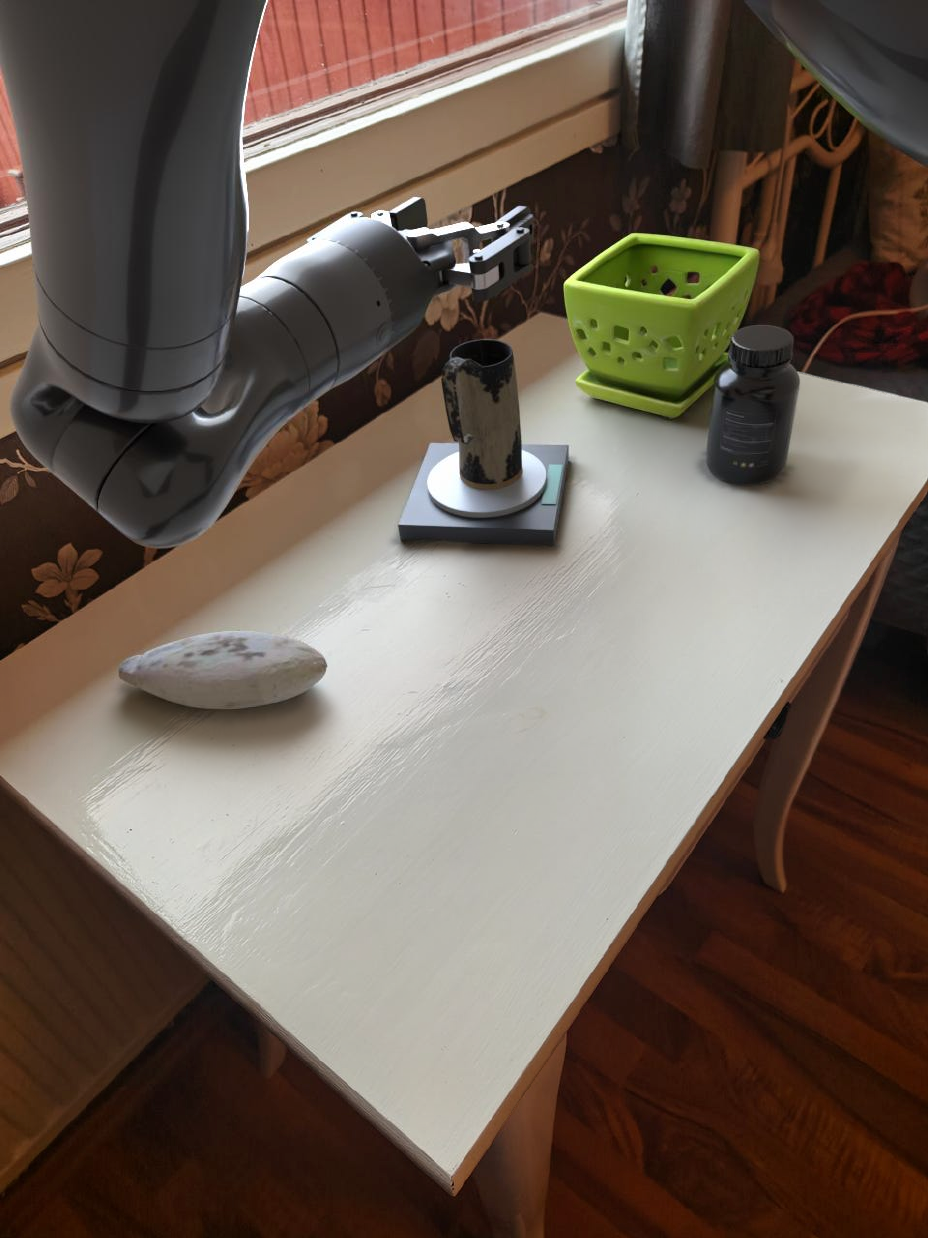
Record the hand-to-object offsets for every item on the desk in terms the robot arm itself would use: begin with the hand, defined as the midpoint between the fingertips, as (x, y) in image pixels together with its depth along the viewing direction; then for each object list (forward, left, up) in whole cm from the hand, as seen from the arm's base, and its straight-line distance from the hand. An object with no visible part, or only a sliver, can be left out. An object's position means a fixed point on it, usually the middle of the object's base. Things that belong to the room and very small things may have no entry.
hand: (472, 216), depth 61 cm
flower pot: (-14, -19, -24) cm, 33 cm away
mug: (+1, +1, -22) cm, 22 cm away
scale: (0, +1, -24) cm, 24 cm away
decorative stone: (+15, +25, -24) cm, 38 cm away
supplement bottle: (-22, -5, -24) cm, 32 cm away
